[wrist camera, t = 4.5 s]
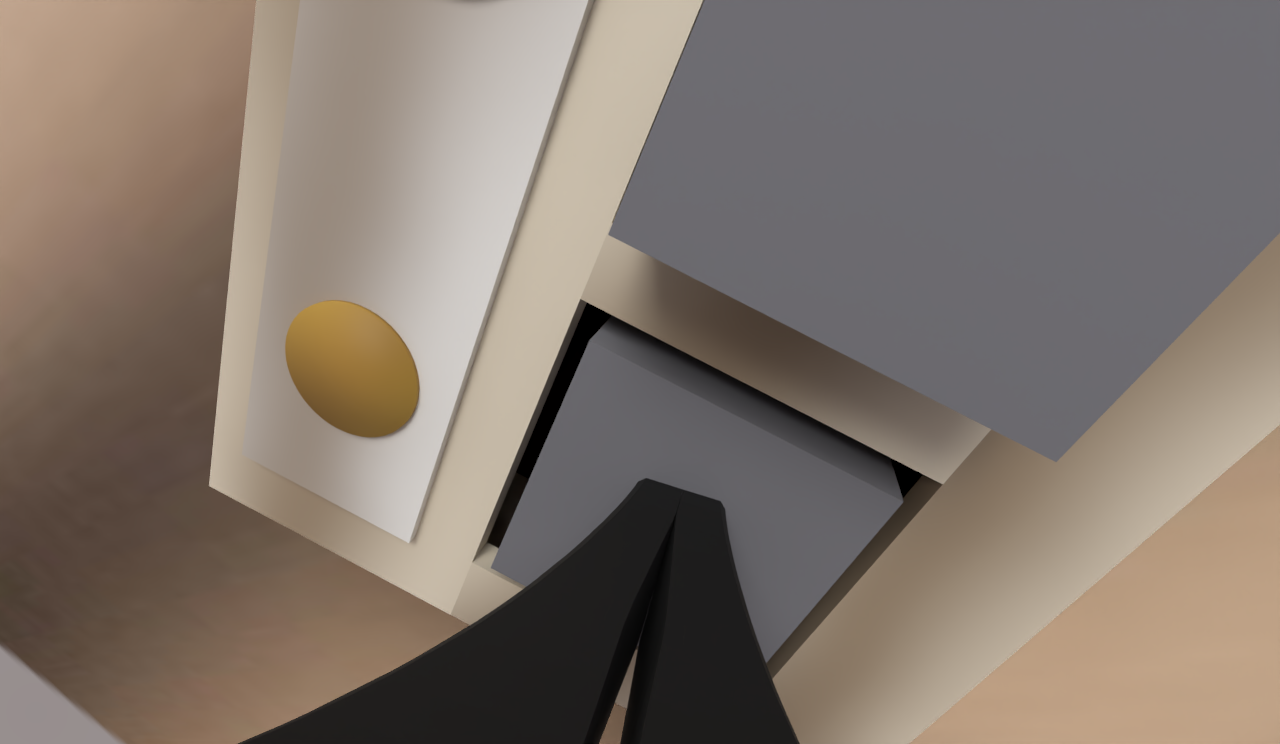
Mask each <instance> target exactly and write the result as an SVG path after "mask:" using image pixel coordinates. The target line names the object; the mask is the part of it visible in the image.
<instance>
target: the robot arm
mask: <svg viewBox="0 0 1280 744" xmlns="http://www.w3.org/2000/svg"><path fill="white" fill-rule="evenodd" d="M682 491H683V492H682ZM681 494H682V495H681ZM680 498H681V499H680ZM679 501H680V502H679ZM671 529H672V530H671ZM664 553H665V554H664ZM657 577H658V578H657ZM650 601H651V602H650ZM648 608H649V609H648ZM646 615H647V616H646ZM644 622H645V623H644ZM643 625H644V626H643ZM642 629H643V630H642ZM641 632H642V633H641ZM640 636H641V637H640ZM639 639H640V640H639ZM638 642H639V646H638V651H637V656H636V662H635V667H634V673H633V678H632V683H631V689H630V694H629V700H628V705H627V711H626V716H625V721H624V727H623V732H622V738H621V743H620V744H800V743H799V741H798V738H797V736H796V734H795V732H794V729H793V727H792V725H791V723H790V720H789V718H788V716H787V714H786V712H785V709H784V707H783V705H782V702H781V700H780V697H779V695H778V693H777V690H776V688H775V685H774V683H773V680H772V677H771V675H770V672H769V670H768V667H767V664H766V662H765V659H764V656H763V653H762V651H761V648H760V645H759V642H758V640H757V637H756V634H755V631H754V628H753V625H752V622H751V619H750V616H749V613H748V609H747V606H746V602H745V599H744V595H743V592H742V589H741V585H740V582H739V578H738V574H737V571H736V567H735V563H734V558H733V554H732V549H731V545H730V540H729V534H728V528H727V521H726V512H725V508H724V506H723V504H722V503H721V501H719V500H716V499H713V498H709V497H706V496H703V495H699V494H696V493H693V492H690V491H687V490H683V489H680V488H677V487H674V486H671V485H667V484H664V483H661V482H658V481H655V480H651V479H648V478H645V479H643V480H640V481H638V482H637V484H636V485H635V487H634V488H633V489H632V491H631V492H630V493H629V494H628V495H627V497H626V498H625V499H624V500H623V501H622V502H621V503H620V504H619V506H618V507H617V508H616V509H615V510H614V511H613V512H612V513H611V514H610V515H609V516H608V517H607V518H606V519H605V520H604V521H603V522H602V523H601V524H600V525H599V526H598V527H597V528H596V529H594V530H593V531H592V532H591V533H590V534H589V535H588V536H587V537H586V538H585V539H584V540H583V541H582V542H580V543H579V544H578V545H577V546H576V547H575V548H574V549H573V550H571V551H570V552H569V553H568V554H567V555H566V556H564V557H563V558H562V559H561V560H559V561H558V562H557V563H556V564H554V565H553V566H552V567H551V568H549V569H548V570H547V571H546V572H544V573H543V574H542V575H541V576H539V577H538V578H537V579H536V580H534V581H533V582H532V583H531V584H529V585H528V586H527V587H525V588H524V589H522V590H521V591H520V592H518V593H517V594H516V595H514V596H513V597H511V598H510V599H509V600H507V601H506V602H504V603H503V604H501V605H500V606H499V607H497V608H496V609H494V610H493V611H491V612H490V613H488V614H487V615H485V616H484V617H482V618H481V619H479V620H478V621H476V622H474V623H473V624H471V625H470V626H468V627H467V628H465V629H463V630H462V631H460V632H458V633H457V634H455V635H453V636H452V637H450V638H448V639H447V640H445V641H443V642H442V643H440V644H438V645H437V646H435V647H433V648H432V649H430V650H428V651H427V652H425V653H423V654H421V655H420V656H418V657H416V658H414V659H413V660H411V661H409V662H407V663H405V664H404V665H402V666H400V667H398V668H396V669H394V670H393V671H391V672H389V673H387V674H385V675H383V676H381V677H379V678H377V679H375V680H373V681H371V682H369V683H367V684H365V685H363V686H361V687H359V688H357V689H355V690H353V691H351V692H349V693H347V694H345V695H343V696H341V697H339V698H337V699H335V700H333V701H331V702H329V703H327V704H325V705H323V706H321V707H319V708H317V709H315V710H313V711H311V712H309V713H307V714H304V715H302V716H300V717H298V718H296V719H294V720H291V721H289V722H287V723H285V724H283V725H281V726H278V727H276V728H274V729H271V730H269V731H266V732H264V733H262V734H259V735H257V736H255V737H252V738H250V739H248V740H245V741H243V742H240V743H238V744H599V742H600V739H601V736H602V734H603V731H604V729H605V726H606V724H607V721H608V719H609V716H610V714H611V711H612V708H613V706H614V703H615V701H616V698H617V696H618V693H619V691H620V688H621V686H622V683H623V680H624V678H625V675H626V673H627V670H628V668H629V665H630V663H631V660H632V657H633V655H634V652H635V650H636V647H637V645H638Z"/></svg>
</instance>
